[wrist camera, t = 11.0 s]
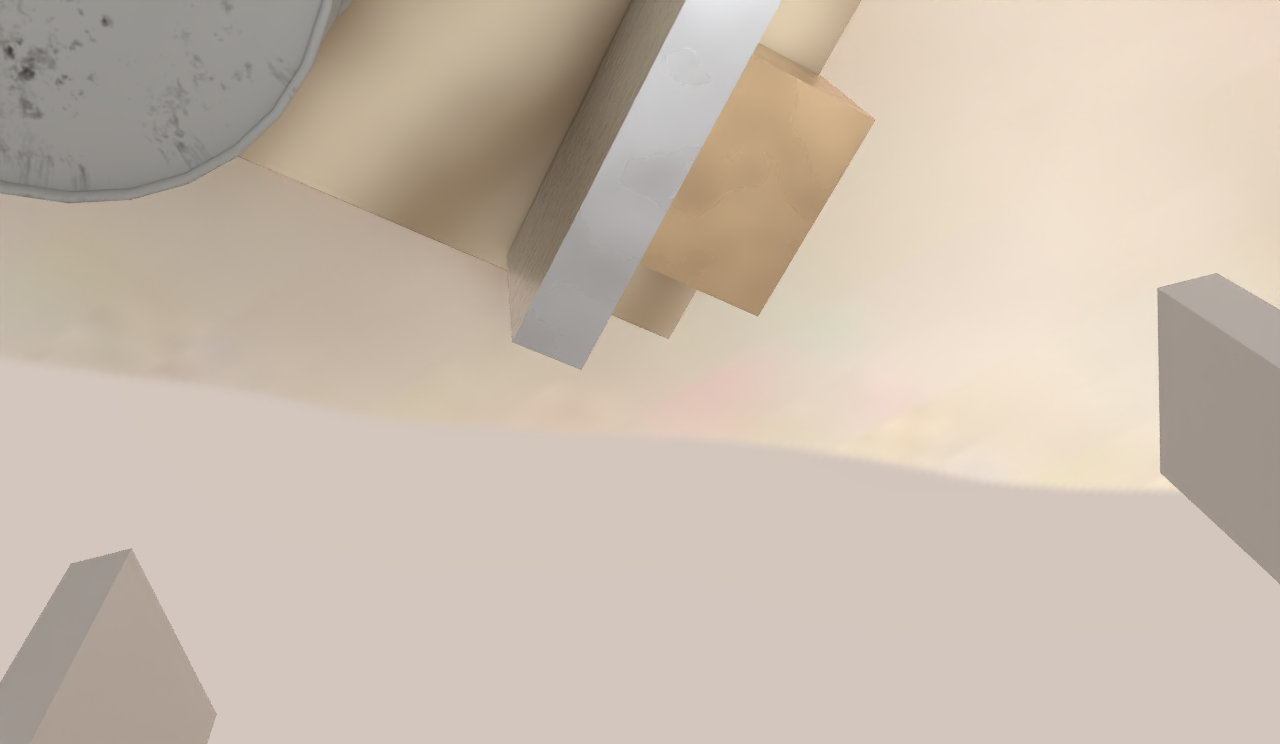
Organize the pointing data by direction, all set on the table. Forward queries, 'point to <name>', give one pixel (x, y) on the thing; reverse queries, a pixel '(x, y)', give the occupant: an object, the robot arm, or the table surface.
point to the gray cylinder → (144, 89)
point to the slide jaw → (679, 172)
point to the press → (476, 115)
